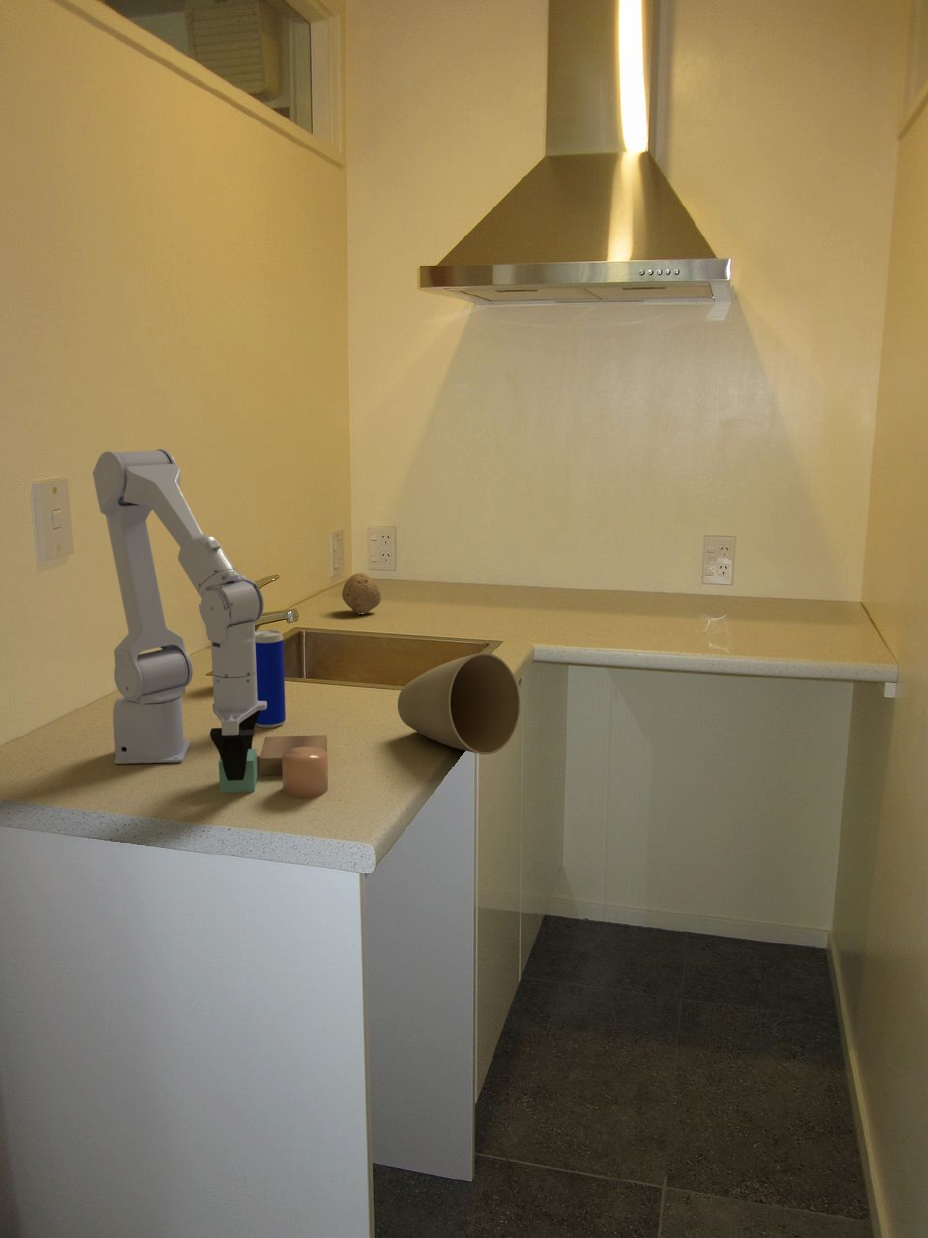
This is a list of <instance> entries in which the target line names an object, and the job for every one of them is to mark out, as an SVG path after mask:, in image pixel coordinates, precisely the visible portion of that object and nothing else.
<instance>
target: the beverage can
mask: <svg viewBox="0 0 928 1238" xmlns="http://www.w3.org/2000/svg"><path fill="white" fill-rule="evenodd" d="M255 646H256V671H257V696H258V701H266V702H267V708H266V709H265V710H261V713H260V714H259V717H258V719H257V721H256V724H255V726H257V727H258V728H265V729H270V728H272V729H273V728H278V727H280V726H283V725H284V723H285V721H286V720H287V719H286V718H287V716H286V683H285V681H286V680H285V652H284V651H285V650H284V648H285V647H284V646H285V645H284V636H283V634H282V632H281V630H276V629H260V630H259V629H258V630H255Z"/></svg>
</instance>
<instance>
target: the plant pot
mask: <svg viewBox="0 0 928 1238" xmlns="http://www.w3.org/2000/svg"><path fill="white" fill-rule="evenodd" d="M397 710H398V711H397V712H398V714H399V717H400V719H401V721H402V722H403V723H404V724H405V725H406V726H407V727H409V728H410V729H412V730H413V731H415V732H417V733H418V734H419V735H423V736H425V737H427V738H429V739H431V740H433V741H435V742H437V743H440V744H443V745H445V746H448V747H450V748H453V749H454V748H455V749H458V750H461V751H466V752H469V753H474V754H479V755H491V754H495V753H497V752H499V751H500V750H502V749H503V748H504V747H505V746H507V744H508V743H509V742H510V740H511V739H512V737H513V736H514V733H515V731H516V729H517V727H518V724H519V719H520V715H521V714H520V713H521V695H520V690H519V684H518V683H517V680H516V677H515V675H514V673H513V671H512V669H511V668H510V666H509V665H508V664H507V663H506V662H505V661H504V660H503V659H502V658H500V657H499V656H497V655H495V654H493V653H490V652H478V653H474V654H470V655H466V656H462V657H460V658H457V659H453V660H450V661H448V662H445V663H443V664H440V665H438V666H435V667H434V668H432V669H429V670H427V671H426V672H423V673H421V674H420V675H419V676H417V677H415V678H414V679H412V680H411V681H410V682H408V683H406V684H405V686H403V688H402V689H401V691H400V692H399V695H398V699H397Z"/></svg>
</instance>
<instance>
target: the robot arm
mask: <svg viewBox="0 0 928 1238" xmlns="http://www.w3.org/2000/svg"><path fill="white" fill-rule="evenodd" d="M92 476H93V482H94V487H95V491H96V492H95V493H96V497H97V501H98V506H99V512H100V513H101V514H103V515H105V519H106V523H107V528H108V534H109V539H110V544H111V550H112V556H113V560H114V564H115V569H116V576H117V580H118V585H119V590H120V595H121V600H122V606H123V610H124V616H125V620H126V621H125V622H126V626H127V631H128V633H127V635H126V636H125V637H124V638H123V639H122V641H120V643H119V644H118V645H117V646H116V647H115V648H114V650H113V654H114V655H113V656H114V673H113V678H114V683H115V686H116V689H117V691H118V692H119V693H120V694H121V695H122V696H119V697H117V698H116V699H115V702H114V705H113V711H112V712H113V713H112V725H113V727H112V728H113V736H114V737H113V739H114V752H115V753H114V754H115V755H114V756H115V758H114V763H115V764H116V765H117V764H118V765H119V764H121V765H123V764H125V765H126V764H128V765H129V764H154V763H155V764H157V763H158V764H159V763H181V762H183V761H184V759H185V757H186V755H187V753H188V750H189V748H190V745H191V741H190V740H184V739H185V737H184V722H183V703H182V701H183V700H182V695H183V694H186V693H187V692H186V687H188V686H189V685H190V683H191V682H192V679H193V674H194V666H193V662H192V659H191V657H190V655H189V653H188V651H187V649H186V647H185V646H186V645H185V641H184V638H183V636H181V635H179V634H178V633H176V632H175V631H173V630H171V629H169V628H168V627H167V625H166V620H165V614H164V613H165V612H164V609H163V603H162V599H161V591H160V588H159V583H158V577H157V573H156V572H157V571H156V567H155V562H154V557H153V553H152V552H153V551H152V546H151V542H150V541H151V540H150V536H149V531H148V526H147V519H148V518H149V517H148V516H149V515H150V513H151V512H152V511H153V512H154V513H155V514H154V515H156V516H157V518H158V519H159V521H160V522H161V523H162V525H164V528H165V529H166V530H167V532H168V533H169V534H170V535H171V537H172V538H173V539H174V541H175V542H176V543H177V545H178V546H179V551H178V552H179V553H178V555H177V559H178V562H179V564H180V565H181V567H182V569H183V570H184V572H185V573H186V576H187V577H188V579H189V580H190V581H191V585H193V587H194V588H195V590H196V592H197V593H198V595H199V596H200V598H201V600H200V604H198V610H199V614H200V617H201V619H202V622H203V623H204V626H205V634H206V637H207V641H210V649H211V652H210V653H211V671H212V673H211V675H212V690H213V692H212V693H213V703H212V713H214V715H215V716H216V717H217V718H218V720H219V721H220V723H221V727H215V728H214V727H212V728H211V729H210V731H209V737H210V739H211V741H212V743H213V744H214V746H215V747H216V749H217V751H218V754H219V756H220V757H221V760H222V763H223V767H224V771H225V775H226V777H227V780H228V781H232V780H243V779H244V775H245V771H246V762H247V754H248V749H253V740H254V735H255V733H256V729H255V727H256V721H257V719H258V717H259V714H260V713H261V710H265V709H266V708H267V702H266V701H258V696H257V671H256V646H255V631H256V627H255V626H256V625H255V622H257V621H259V620H260V618H261V617H262V615H263V613H264V607H265V606H264V597H263V594H262V592H261V590H260V588H259V585H258V584H257V582H255V581H254V580H252V579H251V578H248V577H246V576H245V575H244V574H242V573H238V571H237V570H236V567H235V566H234V565H233V564H232V562H231V560H230V559H229V556H228V555H227V554H226V552H225V551H224V549H223V547H222V546H221V544H220V542H219V541H218V540H217V538H215V537H213V536H210V535H205V534H204V533H203V530H202V529H201V527H200V525H199V523H198V521H197V519H196V517H195V515H194V513H193V511H192V509H191V507H190V505H189V503H188V502H187V500H186V498H185V496H184V493H183V492H182V490H181V488H180V486H181V469H180V468H179V466H178V465H177V462H176V460H175V458H174V456H173V455H172V454H171V452H170V451H169V450H166V449H164V448H159V449H155V450H139V451H137V450H135V451H116V452H115V451H114V452H113V451H111V450H110V451H104V452H103V453H101V454H100V455H99V457H98V459H97V461H96V464H95V467H94V469H93V471H92ZM158 648H160V649H158ZM153 649H158V650H154V651H149V650H153ZM145 651H149V652H145ZM143 652H145V653H143ZM220 757H219V758H220Z"/></svg>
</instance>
